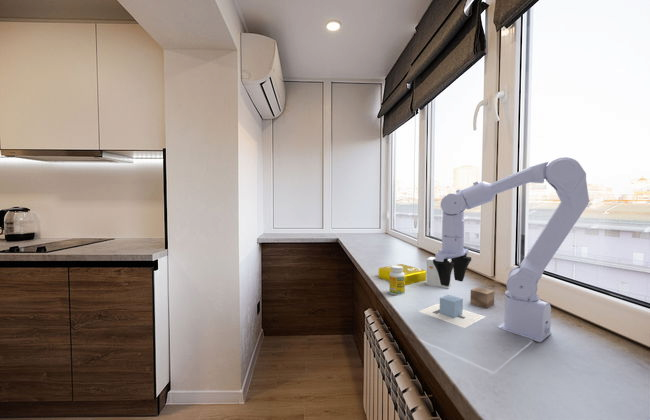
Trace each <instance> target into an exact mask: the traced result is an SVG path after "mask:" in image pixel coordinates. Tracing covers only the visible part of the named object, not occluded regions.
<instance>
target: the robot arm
mask: <svg viewBox="0 0 650 420" xmlns="http://www.w3.org/2000/svg"><path fill="white" fill-rule="evenodd" d="M545 181H546V182H547V183H548V185H550V186H551V187H552V188H553V189H554V190H555V192H556V194H557V196H558V197H557V198H558V199H559V201H560V202H559V204H558V205H557V208H556V209H555V210H554V212H553V213H552V215H551V217H550V218H549V220H548V221H547V223H546V224H545V226H544V228H543V229H542V231H541V233H540V234H539V235H538V237H537V238H536V240H535V242H534V243H533V244H532V247H531V248H530V249H529V250H528V252H527V254H526V256H525V257H524V258H523V260H522V261H521V262H520V264H519V265H517V266H516V267H514V268H512V269H511V270H510V271H509V274H508V279H507V280H506V289H507V290H505V291H504V317H503V319H504V321H503V322H502V323H501V324H500V325H498V326H497V328H498V329H501V330H504V331H506V332H510V333H513V334H516V335H518V336H522V337H525V338H528V339H531V340H532V341H535V342H537V343H542V342H543V341H544V340H545V339H547V337H549V336H550V335H551V334H552V332H551V324H552V322H551V321H552V319H551V318H552V317H551V316H552V306H551V304H550V302H547V301H544V300H542V299H540V296H539V295H538V294H537V293H538V283H539V282H540V280H541V278H542V275H543V274H544V272H545V269H546V268H547V266H548V265H549V263H550V262H551V261H552V259H553V257H554V256H555V254H557V251H558V250H559V248H560V247H561V245H562V244H563V242H564V241H565V239H566V238H567V236H568V235H569V233H570V232H571V231H572V229H573V227H574V226H575V224H576V223H577V222H578V221H579V219H580V218H581V216H582V214H583V212H584V211H585V210H586V209H587V207H588V205H589V203H590V196H589V191H588V183H587V172H586V171H585V170H584V168H583V167H582V165H581V163H580V162H578V160H576V159H575V158H572V157H566V156H565V157H564V156H563V157H557V158H555V159H553V160H552V161H551V162H549V161H545V162H542V163H538V164H535V165H531V166H529V167H526V168H524V169H522V170H520V171H517V172H515V173H512V174H510V175H507V176H506V177H505V176H504V177H503V178H500V179H499V180H496V181H493V182H491V183H489V182H487V181H481V182H479V181H475V182H473V185H471V186H468V187H466V188H463V189H457V190H455V193H448V194H446V195H445V196H443V197H442V199H441V200H440V208H441V211H442V222H441V224H442V226H441V228H442V230H441V248H440V249H438V253H435V254H434V255H435V256H434V257H435V259H433V264H434V265H435V267H436V269H437V272H438V275H439V279H440V283H441V285H444V286H449V284H450V277H451V278H452V272H453V277H454V280H455V281H457V282H463V281H464V278H465V275H466V272H467V269H468V267H469V264H470V263H471V261H472V257H471V256H469V249H468V248H464V245H465V220H464V217H465V215H464V214H465V213H464V212H465V210H466V209H467V210H471V209H474V208H477V207H481V206H482V205H486V204H488V203H491V202H493V200H494V198H495V196H497V194H501V193H504V192H506V191H510V190H512V189H515V188H517V187H518V188H519V187H520V186H524V185H527V184H529V183H532V184H544V182H545ZM448 259H451V262H449V261H448Z"/></svg>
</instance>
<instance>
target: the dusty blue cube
mask: <svg viewBox="0 0 650 420" xmlns="http://www.w3.org/2000/svg"><path fill="white" fill-rule="evenodd" d="M463 302H464V299H463V298H461V297H457V296H454V295H450V294H446V295H444V296H441V297H440V298H439V303H440V313H441V314H444V315H447V316H450V317H453V318H456V317H458V316H460V315H462V312H463V310H464V309H463V308H464V306H463V304H464V303H463Z"/></svg>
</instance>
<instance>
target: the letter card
mask: <svg viewBox="0 0 650 420" xmlns="http://www.w3.org/2000/svg"><path fill="white" fill-rule="evenodd" d="M418 312H419V313H422V314H424V315H428V316H431V317H433V318H436V319H439V320H441V321H444V322H447V323H450V324H453V325H455V326H458V327H461V328H463V329H465V328H468V327H469V326H472V325H473V324H475V323H476V322H478V321H480V320H482V319H485V318H486V315H482V314H479V313H475V312H472V311H470V310H466V309H463V312H462V315H460V316H458V317H456V318H453V317H450V316H447V315H444V314H441V313H440V302H438V303H434V304H433V305H431V306H427V307H426V308H423V309H420V310H418Z"/></svg>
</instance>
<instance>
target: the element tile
mask: <svg viewBox="0 0 650 420" xmlns="http://www.w3.org/2000/svg"><path fill="white" fill-rule="evenodd" d="M392 266H402V267H403V271H402V272H403V273H404V274H405V286H410V285H413V284H417V283H421V282H425V281H426V282H427V269H423V268H419V267H415V266H411V265H407V264H401V263H398V264H392V265H388V266H382V267H379V268H378V278H379V279H381V280H385V281H388V282H389V274H390V272H392V270H391V267H392Z"/></svg>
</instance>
